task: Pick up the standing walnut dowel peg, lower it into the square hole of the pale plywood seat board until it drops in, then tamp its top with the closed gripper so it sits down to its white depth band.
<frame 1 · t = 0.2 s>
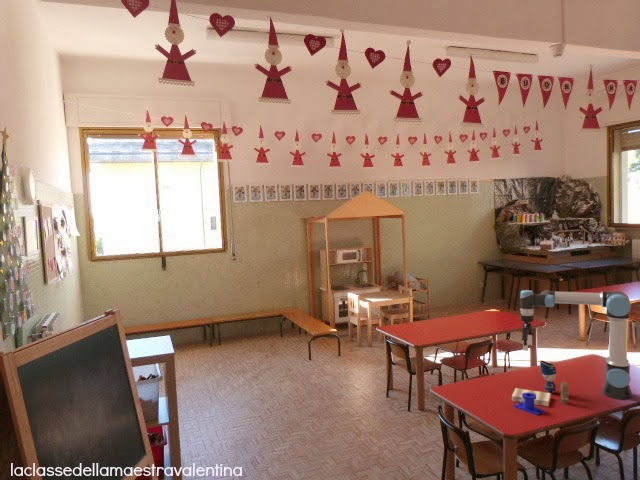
hand: (527, 347, 303), 28 cm above the table, fingers open, 13 cm apart
board: (531, 399, 289), on the table
figurine: (548, 392, 299), on the table
peg: (564, 402, 283), on the table
mount: (529, 410, 275), on the table
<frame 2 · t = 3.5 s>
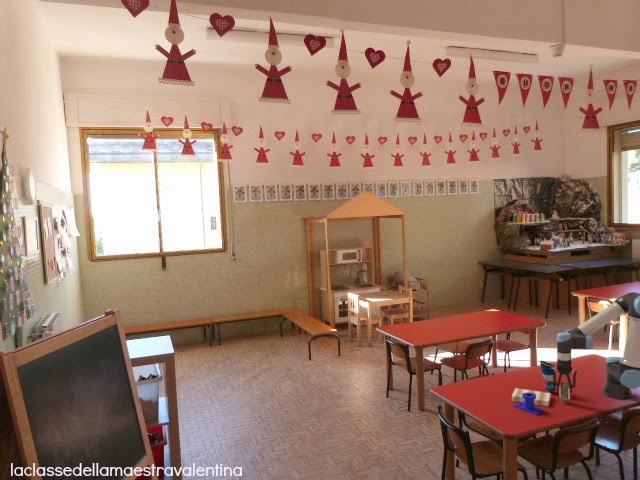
hand: (564, 397, 282), 3 cm above the table, fingers closed on peg, 4 cm apart
peg: (564, 402, 283), on the table, touching gripper
everything else where it was.
when the fingers open (4 cm above the table, at t = 8.2 s): peg drops 1 cm, resting in board.
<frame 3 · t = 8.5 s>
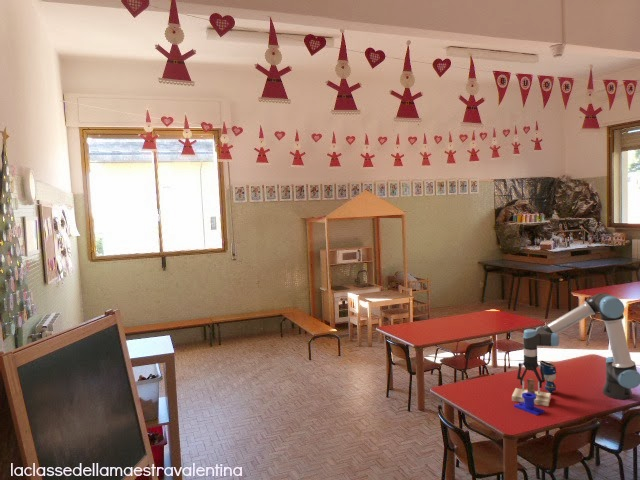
hand: (531, 391, 289), 5 cm above the table, fingers open, 8 cm apart
peg: (531, 399, 289), resting in board
everything else where it was.
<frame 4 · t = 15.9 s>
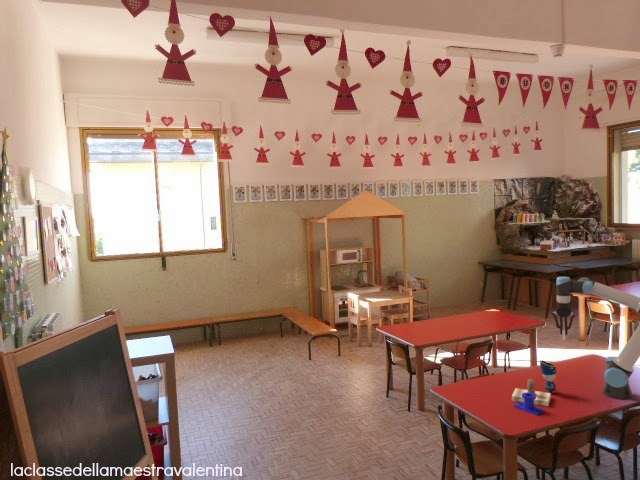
hand: (563, 339, 293), 34 cm above the table, fingers closed
nothing on the table moved.
at the end: peg 0.0 cm off-centre on the board, point 0.0 cm above the board's base; peg tilted 0°; the gripper is holding nothing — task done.
